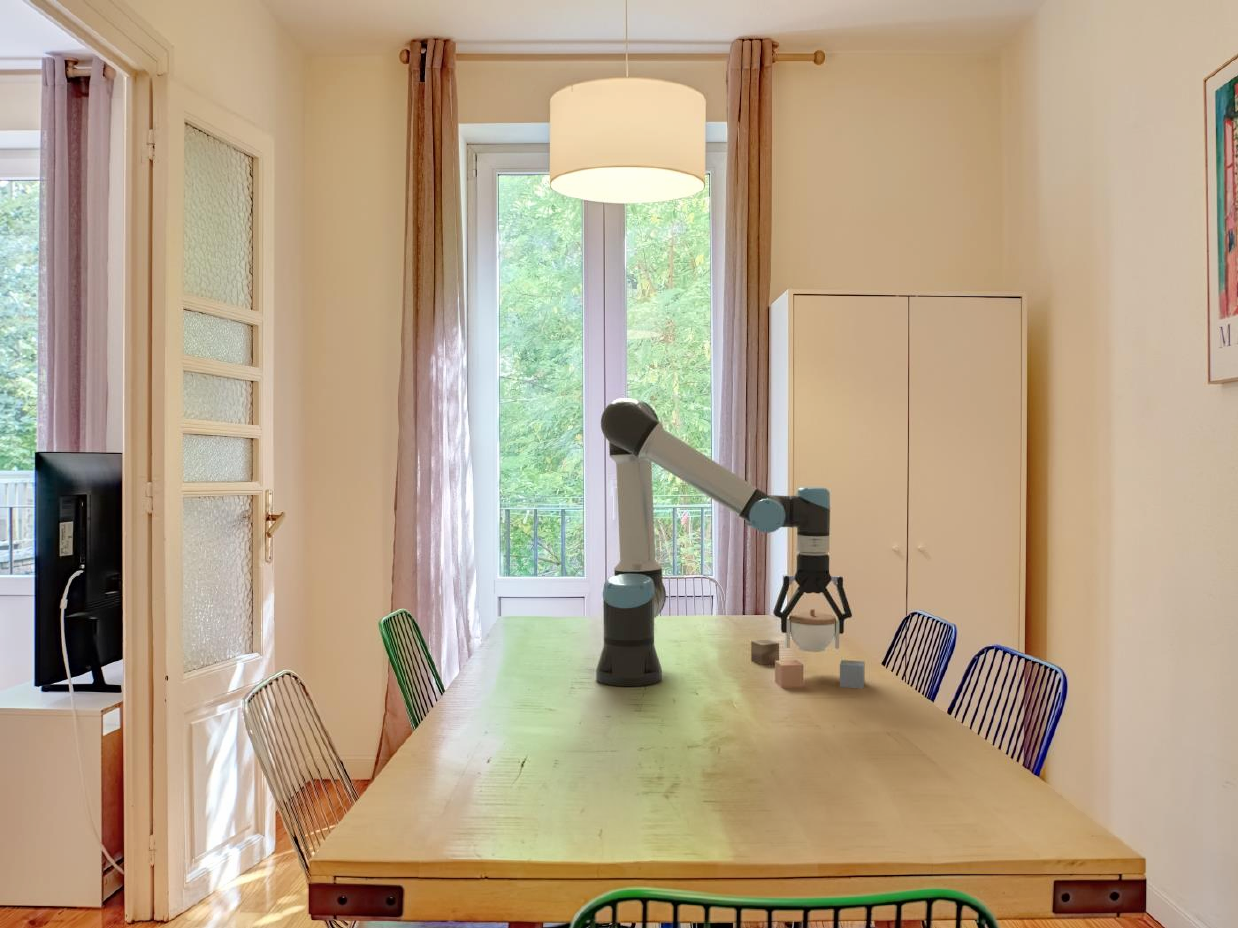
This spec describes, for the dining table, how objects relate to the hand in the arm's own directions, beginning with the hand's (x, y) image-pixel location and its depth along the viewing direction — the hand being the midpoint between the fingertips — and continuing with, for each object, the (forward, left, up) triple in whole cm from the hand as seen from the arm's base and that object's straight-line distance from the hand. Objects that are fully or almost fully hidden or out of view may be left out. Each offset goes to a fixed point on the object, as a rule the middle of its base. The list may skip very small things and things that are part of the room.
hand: (811, 647), depth 231 cm
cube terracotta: (-7, -11, -6) cm, 14 cm away
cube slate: (+7, -11, -6) cm, 15 cm away
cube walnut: (-10, +12, -6) cm, 17 cm away
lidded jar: (0, 0, -1) cm, 1 cm away
